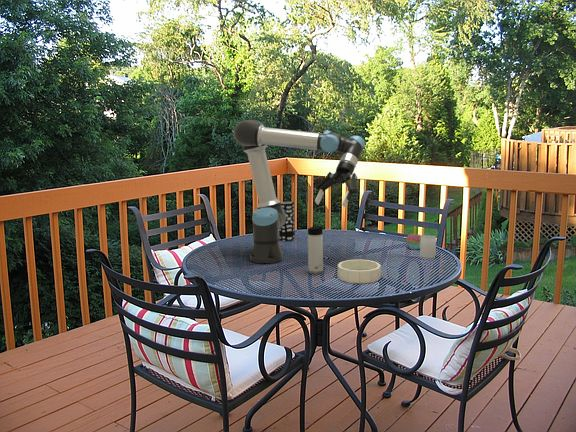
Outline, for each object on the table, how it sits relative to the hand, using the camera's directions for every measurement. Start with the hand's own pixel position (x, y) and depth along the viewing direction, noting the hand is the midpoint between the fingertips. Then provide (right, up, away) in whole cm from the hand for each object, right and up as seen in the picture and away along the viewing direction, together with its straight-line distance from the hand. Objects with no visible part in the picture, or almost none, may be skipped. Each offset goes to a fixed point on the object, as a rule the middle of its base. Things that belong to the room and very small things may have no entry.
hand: (329, 204), depth 233 cm
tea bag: (+47, -24, +17) cm, 55 cm away
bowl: (+11, -30, -11) cm, 34 cm away
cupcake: (+44, -21, +33) cm, 59 cm away
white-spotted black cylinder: (-19, -18, +56) cm, 62 cm away
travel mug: (-6, -29, -3) cm, 30 cm away
